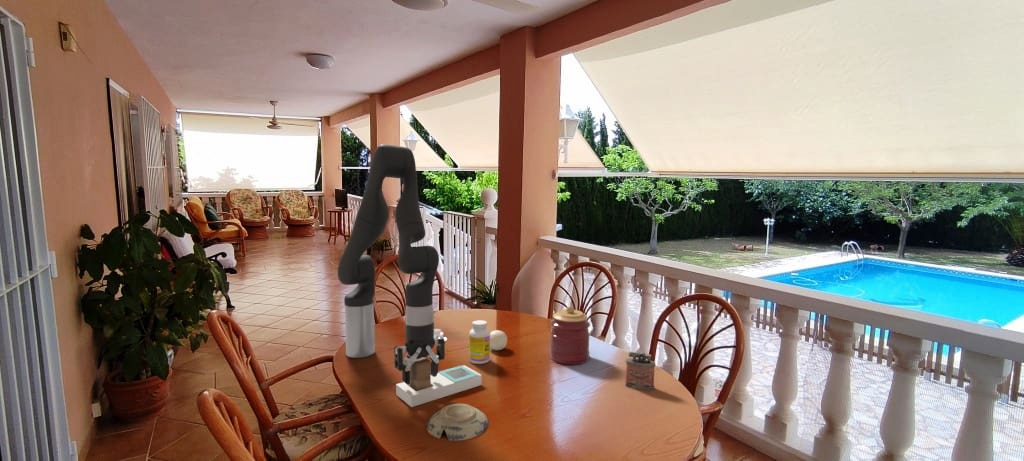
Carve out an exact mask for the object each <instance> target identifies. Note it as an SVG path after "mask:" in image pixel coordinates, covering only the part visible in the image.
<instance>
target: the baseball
mask: <svg viewBox="0 0 1024 461" xmlns="http://www.w3.org/2000/svg"><path fill="white" fill-rule="evenodd" d="M507 343H508V336H507V335H506V333H505V332H504V331H502V330H498V329H497V330H492V331H491V332H490V350H491V349H492V350H493V351H501V350H504V348H505V347H506V345H507Z"/></svg>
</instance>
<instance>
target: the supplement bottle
mask: <svg viewBox="0 0 1024 461" xmlns="http://www.w3.org/2000/svg"><path fill="white" fill-rule="evenodd" d="M471 324H472V325H471V326H472V328H471V329H470V331H469V333H468V334H469V340H468V342H469V344H468V346H469V347H468V348H469V350H468V351H469V352H468V354H469V355H468V356H469V357H468V358H469V362H470V363H472V364H474V365H482V364H483V365H484V364H487V363H489V361H490V359H491V358H490V356H491V354H490V353H491V351H490V350H491V348H490V333H491V332H490V330H489V329H487V327H488V323H487V321H486V320H479V319H478V320H474V321H472V323H471Z"/></svg>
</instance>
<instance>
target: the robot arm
mask: <svg viewBox="0 0 1024 461" xmlns="http://www.w3.org/2000/svg"><path fill="white" fill-rule="evenodd" d="M367 176H368V177H367V181H366V186H365V189H364V193H363V196H362V200H361V202H360V205H359V207H358V210H357V213H356V216H355V220H354V223H353V226H352V230H351V233H350V236H349V239H348V242H347V244H346V246H345V248H344V250H343V253H342V256H341V257H340V260H339V263H338V265H337V266H338V267H337V278H338V281H339V282H340V283H341V284H343V285H347V286H352V285H353V286H354V285H357V286H356V287H355V288H354V289H353V290H352V291H350V292H348V293H347V294H345V296H344V300H343V301H344V302H343V303H344V327H345V328H344V330H345V332H344V333H345V356H347V357H348V358H353V359H360V358H366V357H369V356H372V355H374V354H375V350H376V349H375V314H374V313H375V312H374V308H375V307H374V297H375V293H376V292H375V291H376V289H375V288H376V265H375V262H374V259H373V257H371V255H369V254H364V253H365V252H366V251H367V250H368V249H369V248H370V247H372V246H373V244H374V243H376V242H377V241H378V239H379V238H381V237H382V235H383V234H384V232H385V229H386V227H387V223H388V221H389V217H390V209H389V206H388V204H387V203H388V202H387V201H386V199H385V195H384V192H383V184H384V180H385V179H386V178H390V179H393V178H394V179H401V181H402V184H403V186H402V187H403V189H402V193H401V194H400V197H399V199H398V202H397V204H396V207H395V211H394V217H395V223H396V226H397V230H398V237H399V238H398V240H399V241H398V242H399V247H398V257H397V265H398V267H399V268H398V269H399V270H400V271H401V272H402V273H403V274H406V275H412V274H421V275H420V276H419V278H417V279H415V280H413V281H410V282H408V283H407V284H406V285H405V311H404V315H405V316H404V321H405V324H404V325H405V344H404V345H402V346H398V345H395V346H394V350H393V353H394V355H393V356H394V368H395V369H397V370H399V371H400V372H401V379H402V382H405V383H406V384H407V385H408V384H410V367H411V365H412V364H413V363H414V362H415V360H416V359H420V358H422V357H425V358H427V357H428V359H429V360H430V374H431V375H432V376H433V377H436V376H437V374H438V372H439V362H440V361H443V360H444V359H445V358H446V356H445V354H446V351H445V348H446V347H445V346H446V345H445V342H446V341H445V342H444V339H443V338H441V337H439V336H438V337H437V338H436V339H434V338H433V337H434V329H435V315H434V314H435V312H434V311H435V310H434V304H433V302H434V301H433V298H434V297H433V296H434V295H433V288H434V283H435V278H436V274H437V272H438V267H439V264H440V263H439V262H440V257H439V256H440V255H439V253H438V250H437V249H436V248H435V247H434V246H432V245H422V246H421V245H420V246H419V245H418V246H412V244H415V243H418V242H420V241H422V240H424V238H425V236H426V228H425V224H424V221H423V216H422V214H421V209H420V208H421V207H420V201H419V193H418V191H419V190H418V189H419V188H418V178H417V166H416V160H415V155H414V153H413V151H412V150H411V149H410V148H409V147H405V146H399V145H393V144H384V143H383V144H379V145H378V146H377V147H376V148H375V150H374V152H373V155H372V157H371V163H370V167H369V172H368V175H367ZM434 346H436V347H435V349H436V354H435V352H434V351H433V348H434ZM405 351H406V355H405ZM403 355H405V356H403ZM403 358H404V359H403Z"/></svg>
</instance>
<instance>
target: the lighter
mask: <svg viewBox="0 0 1024 461" xmlns="http://www.w3.org/2000/svg"><path fill="white" fill-rule="evenodd" d="M628 357H629V358H626V359H625V363H626V368H625V372H626V373H625V382H624V386H625V387H627V388H632V389H637V390H645V391H653V390H655V366H656V362H655V361H653V360H651V359H652V355H651V354H649V353H645V352H644V351H640V353H639V352H637V351H636V352H635V351H628Z"/></svg>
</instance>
